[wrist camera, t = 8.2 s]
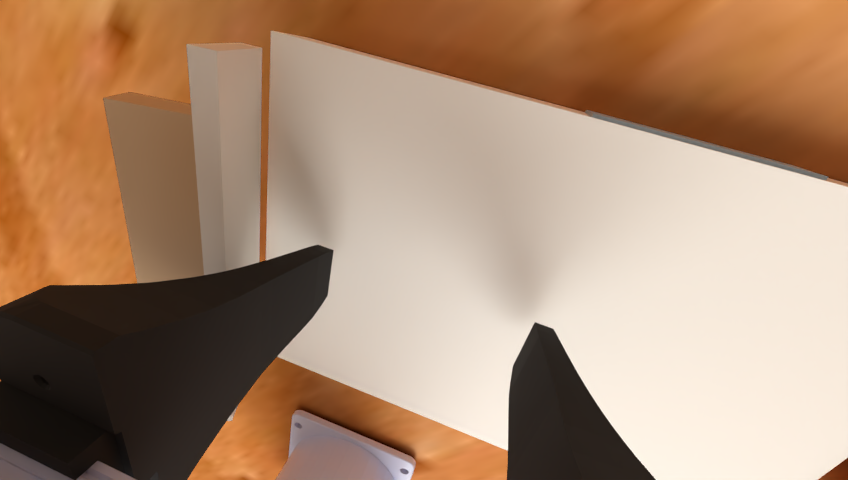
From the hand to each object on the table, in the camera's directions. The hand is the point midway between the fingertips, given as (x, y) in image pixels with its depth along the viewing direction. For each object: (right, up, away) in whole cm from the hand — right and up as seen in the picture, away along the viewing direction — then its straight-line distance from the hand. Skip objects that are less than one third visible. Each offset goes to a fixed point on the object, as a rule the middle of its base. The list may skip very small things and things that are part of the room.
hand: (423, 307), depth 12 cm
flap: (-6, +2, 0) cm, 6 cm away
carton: (+4, 0, +2) cm, 5 cm away
